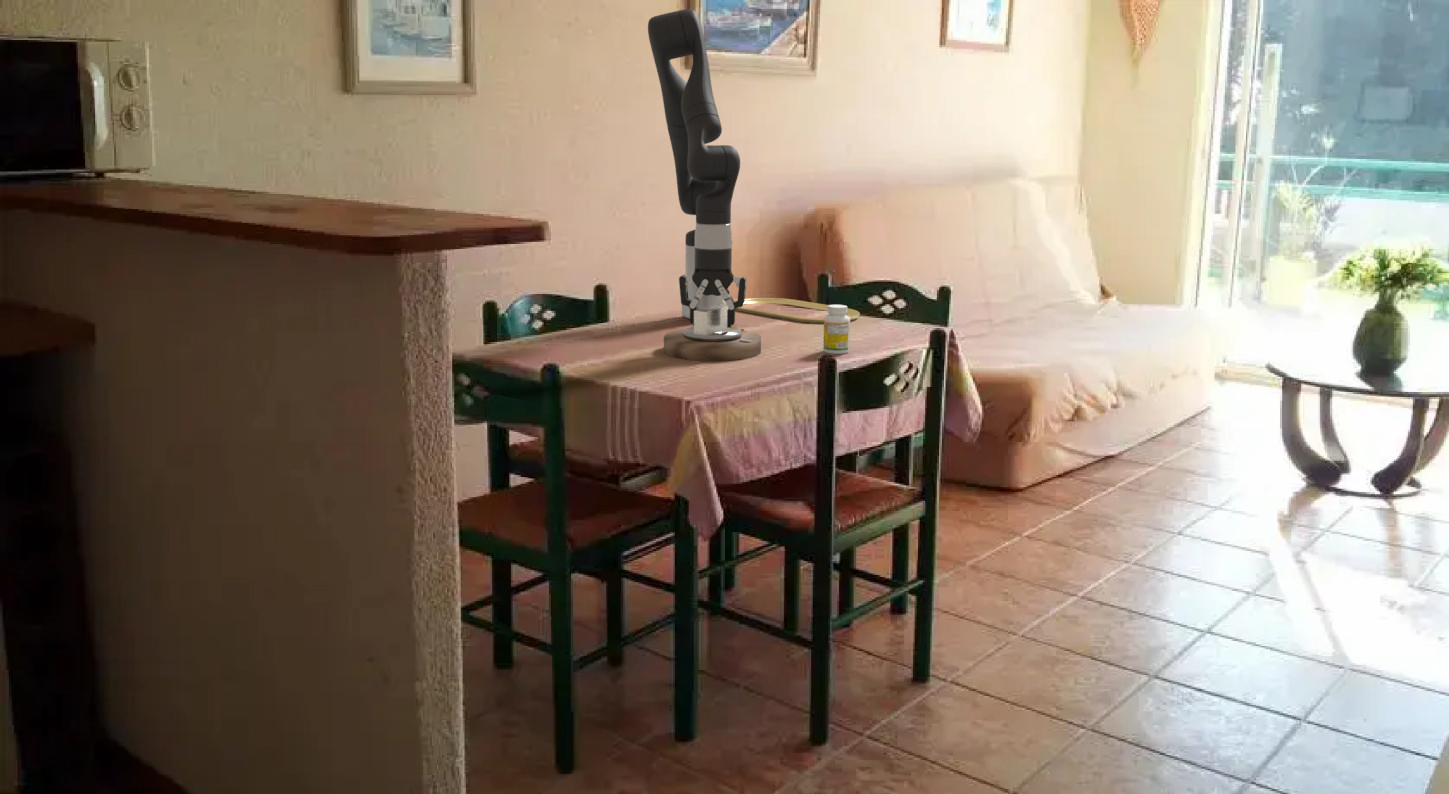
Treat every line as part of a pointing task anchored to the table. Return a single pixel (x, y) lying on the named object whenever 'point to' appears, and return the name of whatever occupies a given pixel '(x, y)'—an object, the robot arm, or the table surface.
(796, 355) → the table surface
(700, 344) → the base
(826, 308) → the gold oval frame
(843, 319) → the supplement bottle
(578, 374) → the table surface
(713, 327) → the butter block on plate
